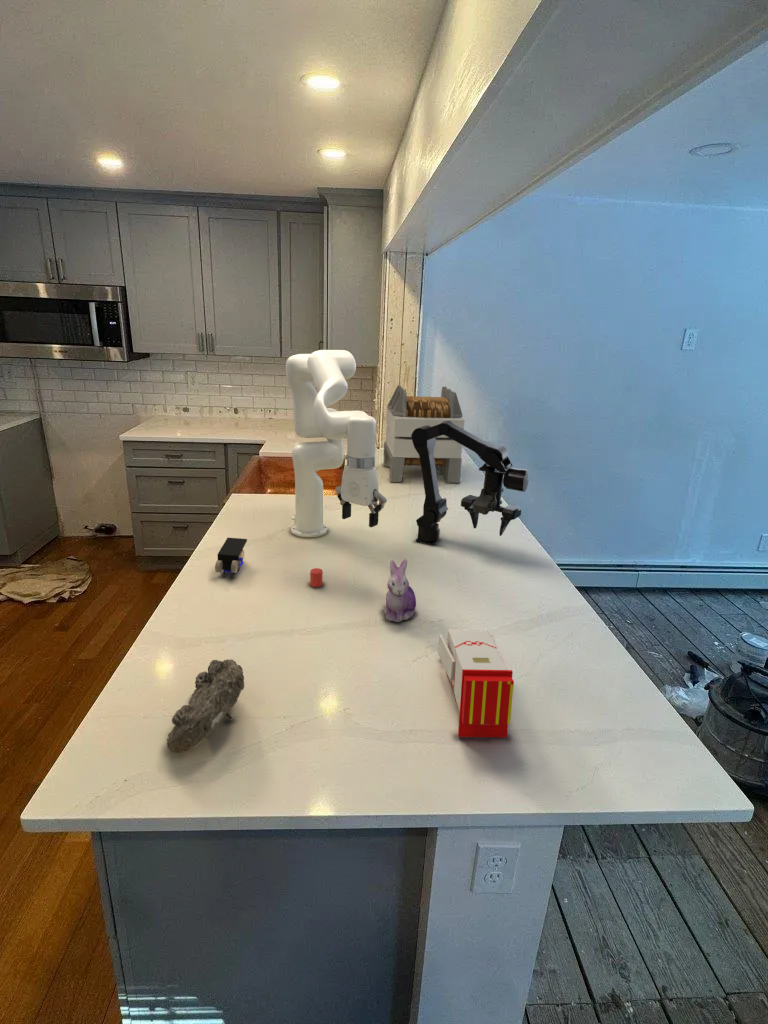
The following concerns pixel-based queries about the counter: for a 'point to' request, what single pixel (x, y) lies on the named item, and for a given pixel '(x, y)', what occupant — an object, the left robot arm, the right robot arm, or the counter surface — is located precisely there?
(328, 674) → the counter surface
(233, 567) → the figurine character
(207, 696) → the fossil
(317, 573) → the can
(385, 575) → the counter surface
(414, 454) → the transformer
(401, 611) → the figurine
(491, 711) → the toy
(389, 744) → the counter surface
